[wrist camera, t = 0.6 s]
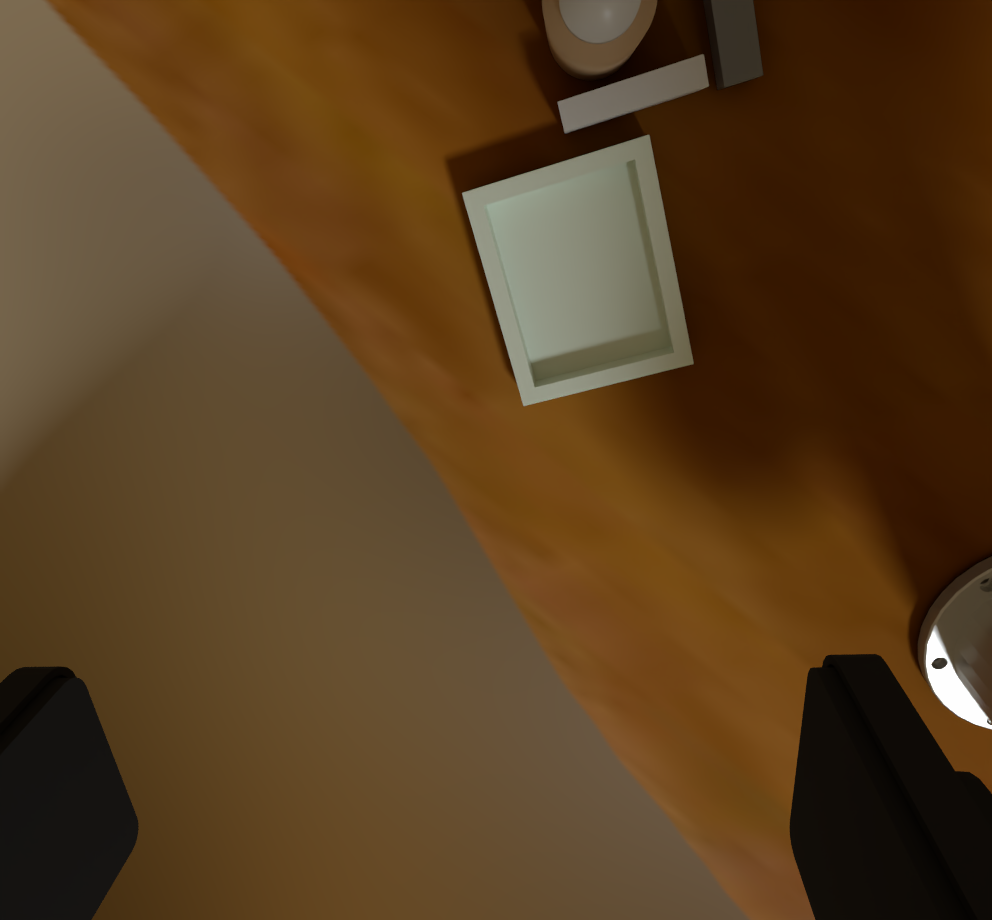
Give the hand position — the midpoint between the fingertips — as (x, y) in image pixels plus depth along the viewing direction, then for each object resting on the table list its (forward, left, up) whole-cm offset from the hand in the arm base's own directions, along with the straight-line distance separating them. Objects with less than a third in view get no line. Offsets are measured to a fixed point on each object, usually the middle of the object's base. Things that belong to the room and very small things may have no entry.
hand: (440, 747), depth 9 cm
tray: (-3, -1, -30) cm, 30 cm away
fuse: (-6, -11, -30) cm, 32 cm away
